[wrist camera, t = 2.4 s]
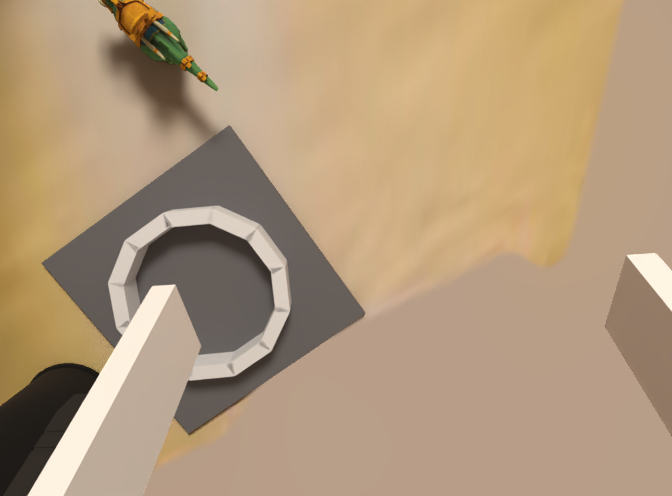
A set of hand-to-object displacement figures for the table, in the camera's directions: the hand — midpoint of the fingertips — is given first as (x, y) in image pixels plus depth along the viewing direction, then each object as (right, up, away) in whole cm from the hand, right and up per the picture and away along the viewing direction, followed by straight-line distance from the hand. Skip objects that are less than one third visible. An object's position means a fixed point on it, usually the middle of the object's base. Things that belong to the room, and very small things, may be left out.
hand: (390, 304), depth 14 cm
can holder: (-13, -2, +27) cm, 30 cm away
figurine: (-15, +18, +23) cm, 33 cm away
